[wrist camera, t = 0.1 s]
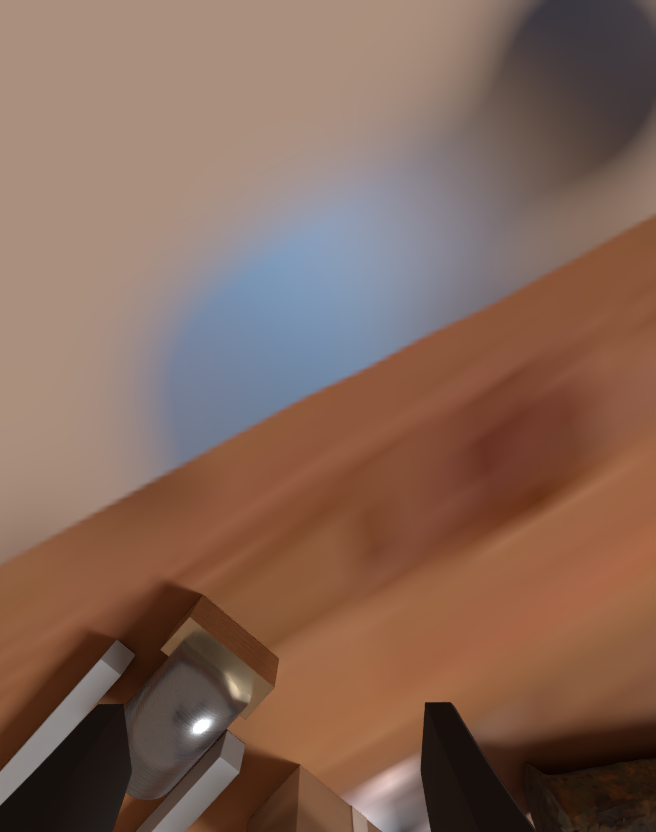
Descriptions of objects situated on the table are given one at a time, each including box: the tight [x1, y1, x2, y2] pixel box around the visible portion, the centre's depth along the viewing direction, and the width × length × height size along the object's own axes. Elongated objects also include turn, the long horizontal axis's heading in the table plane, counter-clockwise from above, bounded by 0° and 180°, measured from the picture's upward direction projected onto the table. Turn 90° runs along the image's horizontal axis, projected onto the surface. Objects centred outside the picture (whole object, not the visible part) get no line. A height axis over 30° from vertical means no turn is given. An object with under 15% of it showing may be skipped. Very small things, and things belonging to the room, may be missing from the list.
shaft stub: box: [124, 595, 279, 800], centre depth 19 cm, size 6×5×4 cm
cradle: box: [0, 640, 245, 832], centre depth 20 cm, size 14×8×2 cm, turn 138°
